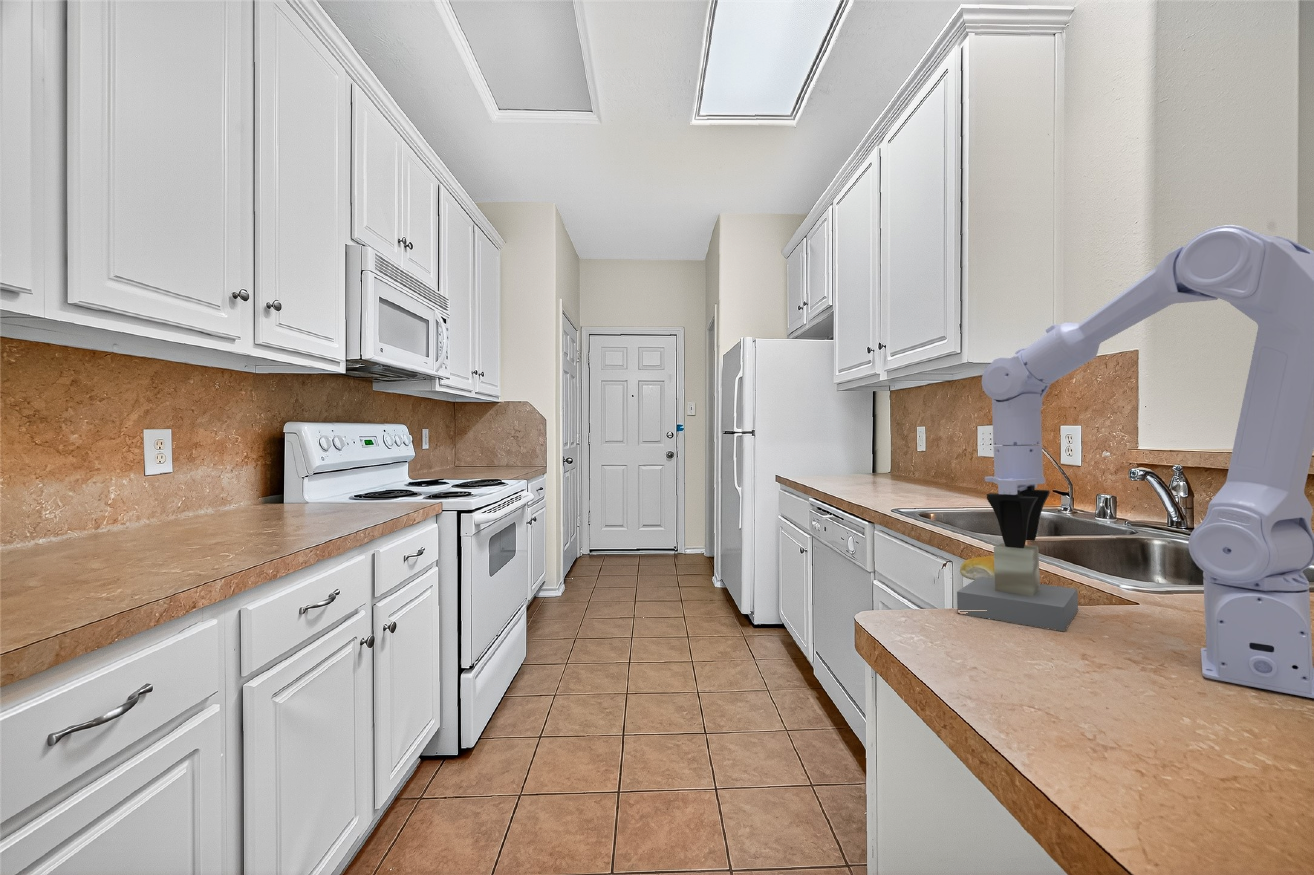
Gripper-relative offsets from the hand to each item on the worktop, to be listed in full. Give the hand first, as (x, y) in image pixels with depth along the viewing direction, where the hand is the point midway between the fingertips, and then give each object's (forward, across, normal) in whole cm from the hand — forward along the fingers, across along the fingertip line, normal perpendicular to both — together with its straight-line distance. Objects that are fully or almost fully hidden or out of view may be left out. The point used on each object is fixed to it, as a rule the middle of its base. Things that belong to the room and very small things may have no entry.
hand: (1020, 543), depth 77 cm
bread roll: (+10, -20, -9) cm, 24 cm away
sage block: (+6, +1, 0) cm, 6 cm away
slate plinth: (+9, +1, 0) cm, 9 cm away
